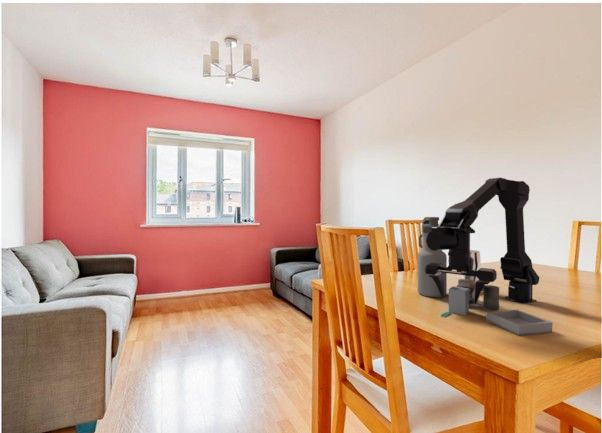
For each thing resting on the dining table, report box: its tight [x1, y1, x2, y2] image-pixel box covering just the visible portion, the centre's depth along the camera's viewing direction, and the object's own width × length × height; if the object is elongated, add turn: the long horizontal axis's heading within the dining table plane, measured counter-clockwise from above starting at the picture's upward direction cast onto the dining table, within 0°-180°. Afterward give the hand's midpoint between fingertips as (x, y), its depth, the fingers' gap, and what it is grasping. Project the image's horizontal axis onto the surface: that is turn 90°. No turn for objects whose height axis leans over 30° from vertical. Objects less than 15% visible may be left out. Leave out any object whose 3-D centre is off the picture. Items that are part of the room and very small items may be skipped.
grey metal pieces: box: [440, 284, 483, 318], centre depth 100 cm, size 20×14×6 cm
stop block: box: [448, 285, 470, 316], centre depth 95 cm, size 4×4×7 cm
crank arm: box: [457, 278, 500, 312], centre depth 98 cm, size 14×5×6 cm, turn 12°
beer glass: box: [460, 249, 481, 281], centre depth 118 cm, size 7×7×15 cm
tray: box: [486, 309, 553, 337], centre depth 83 cm, size 10×10×2 cm
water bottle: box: [416, 216, 448, 298], centre depth 115 cm, size 10×10×28 cm
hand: (459, 299), depth 95 cm, fingers open, 9 cm apart
